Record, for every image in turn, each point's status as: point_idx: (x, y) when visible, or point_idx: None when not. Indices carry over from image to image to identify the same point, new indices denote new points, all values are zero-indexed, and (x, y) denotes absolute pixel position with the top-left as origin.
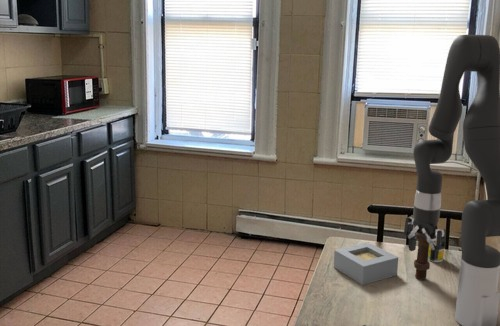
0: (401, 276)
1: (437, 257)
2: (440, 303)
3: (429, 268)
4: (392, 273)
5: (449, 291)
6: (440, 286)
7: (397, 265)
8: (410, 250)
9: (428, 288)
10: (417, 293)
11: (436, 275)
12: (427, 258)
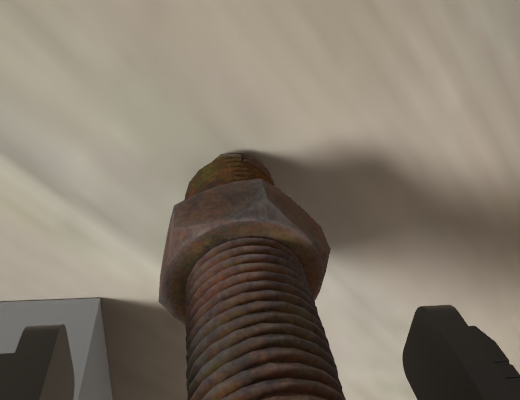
0: (132, 283)
1: (496, 357)
2: (513, 314)
3: (320, 227)
4: (101, 353)
5: (494, 165)
6: (410, 161)
7: (86, 365)
8: (70, 392)
9: (370, 251)
10: (364, 341)
11: (268, 20)
12: (309, 300)
